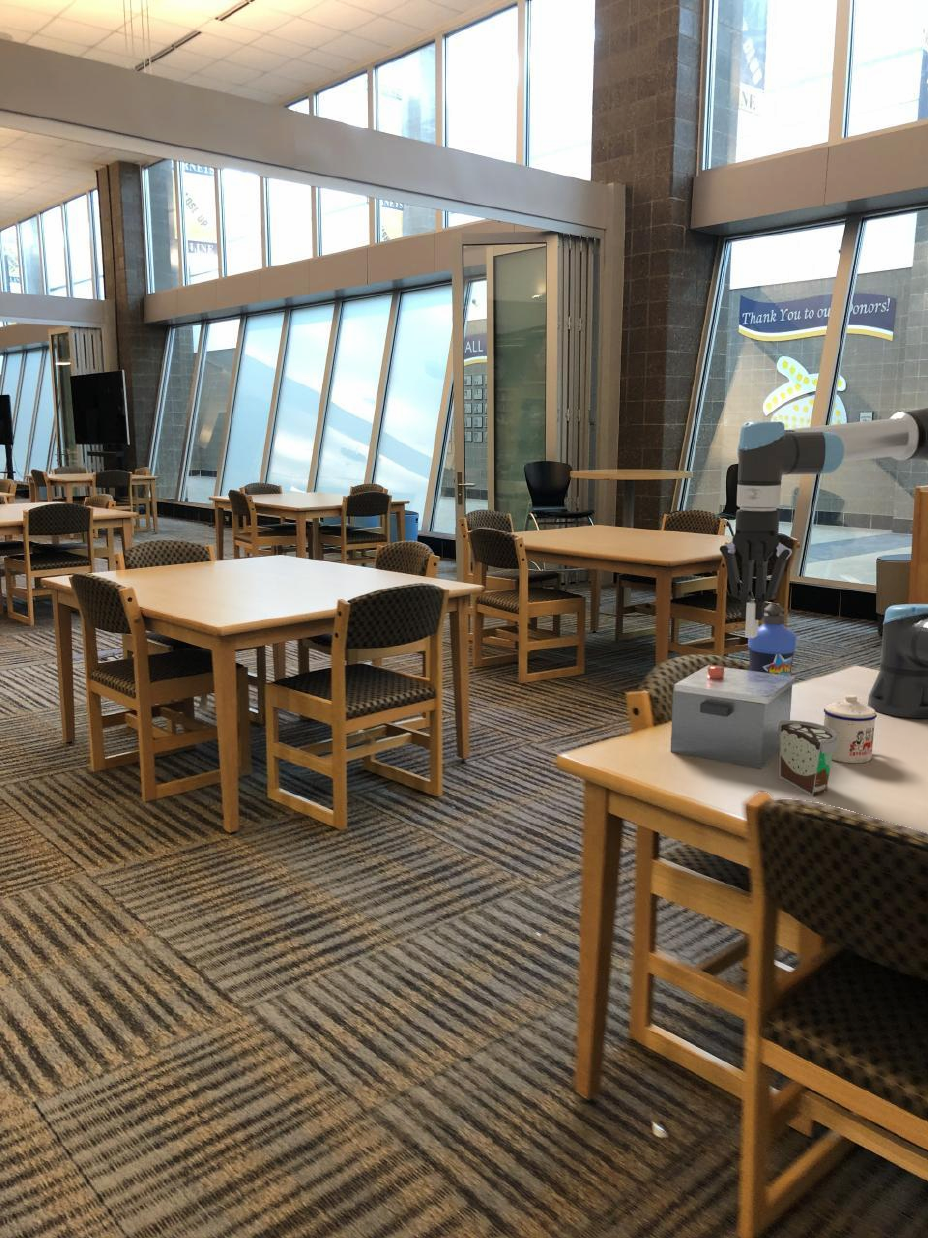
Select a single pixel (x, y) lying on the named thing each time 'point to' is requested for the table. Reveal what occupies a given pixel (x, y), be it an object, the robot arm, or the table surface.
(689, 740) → the grey storage box
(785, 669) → the water bottle
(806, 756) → the food container
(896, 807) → the table surface
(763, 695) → the grey box lid
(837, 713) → the teacup with lid
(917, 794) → the table surface
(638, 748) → the table surface
